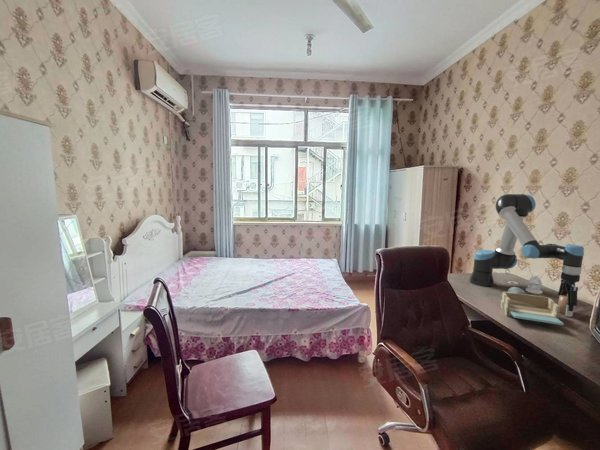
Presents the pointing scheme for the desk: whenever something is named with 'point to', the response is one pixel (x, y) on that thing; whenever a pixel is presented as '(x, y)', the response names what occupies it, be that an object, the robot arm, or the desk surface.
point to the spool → (516, 290)
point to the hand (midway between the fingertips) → (564, 312)
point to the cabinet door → (536, 317)
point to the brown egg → (563, 304)
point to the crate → (529, 304)
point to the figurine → (534, 285)
